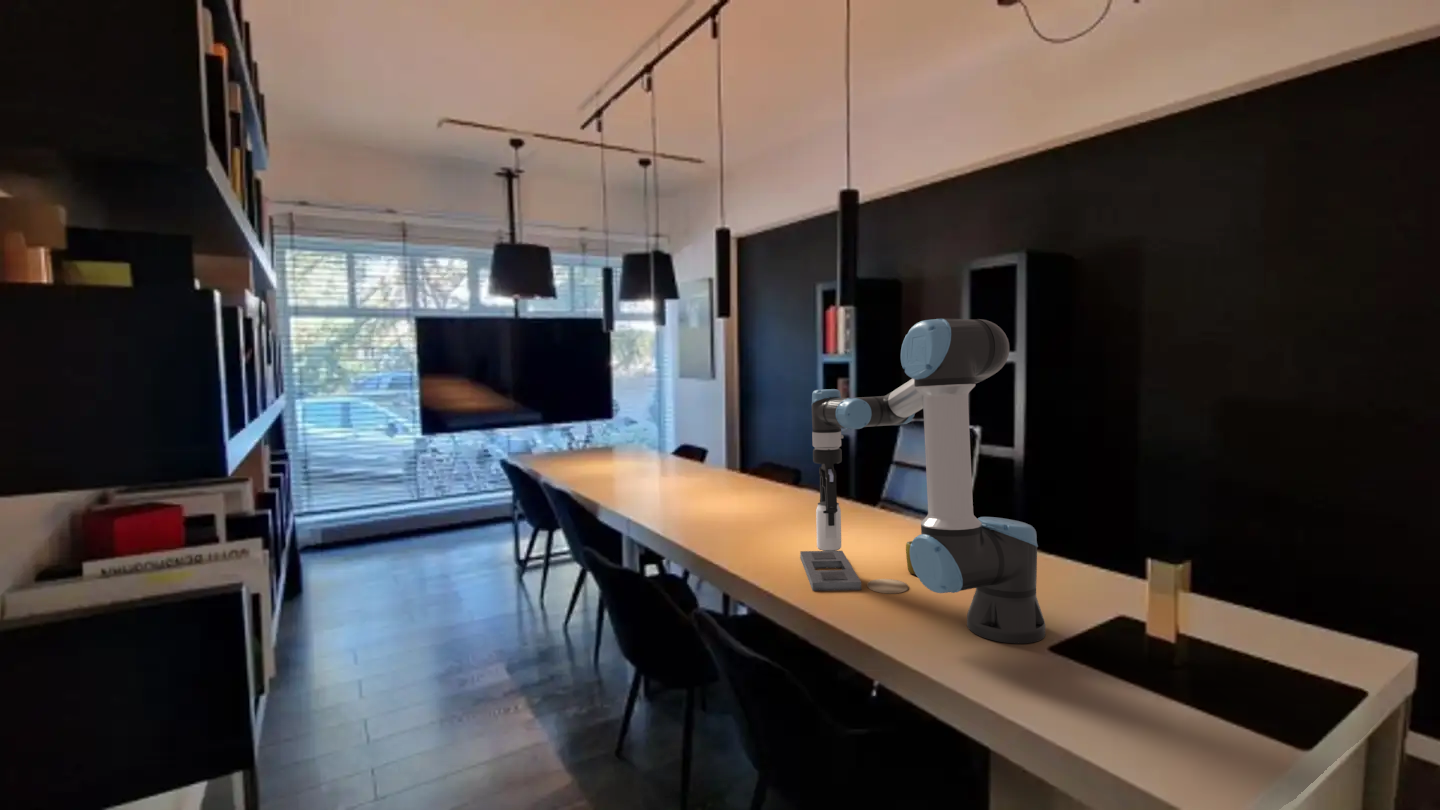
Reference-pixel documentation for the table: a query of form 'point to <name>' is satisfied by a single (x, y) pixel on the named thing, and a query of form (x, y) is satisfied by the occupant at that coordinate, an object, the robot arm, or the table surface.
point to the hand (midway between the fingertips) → (828, 534)
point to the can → (822, 541)
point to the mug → (909, 558)
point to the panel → (829, 571)
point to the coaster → (887, 586)
